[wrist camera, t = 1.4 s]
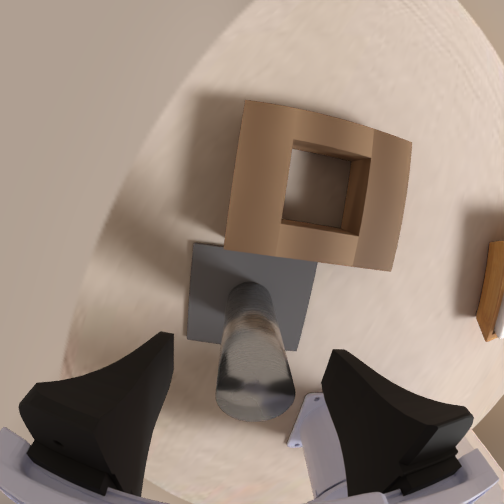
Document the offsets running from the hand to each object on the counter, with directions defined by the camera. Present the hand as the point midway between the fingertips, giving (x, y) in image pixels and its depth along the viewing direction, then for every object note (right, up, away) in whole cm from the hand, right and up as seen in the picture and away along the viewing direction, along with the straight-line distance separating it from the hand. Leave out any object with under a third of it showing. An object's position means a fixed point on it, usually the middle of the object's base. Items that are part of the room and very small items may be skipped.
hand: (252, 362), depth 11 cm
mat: (0, +2, +7) cm, 7 cm away
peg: (0, +2, +7) cm, 7 cm away
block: (+4, +9, +5) cm, 11 cm away
